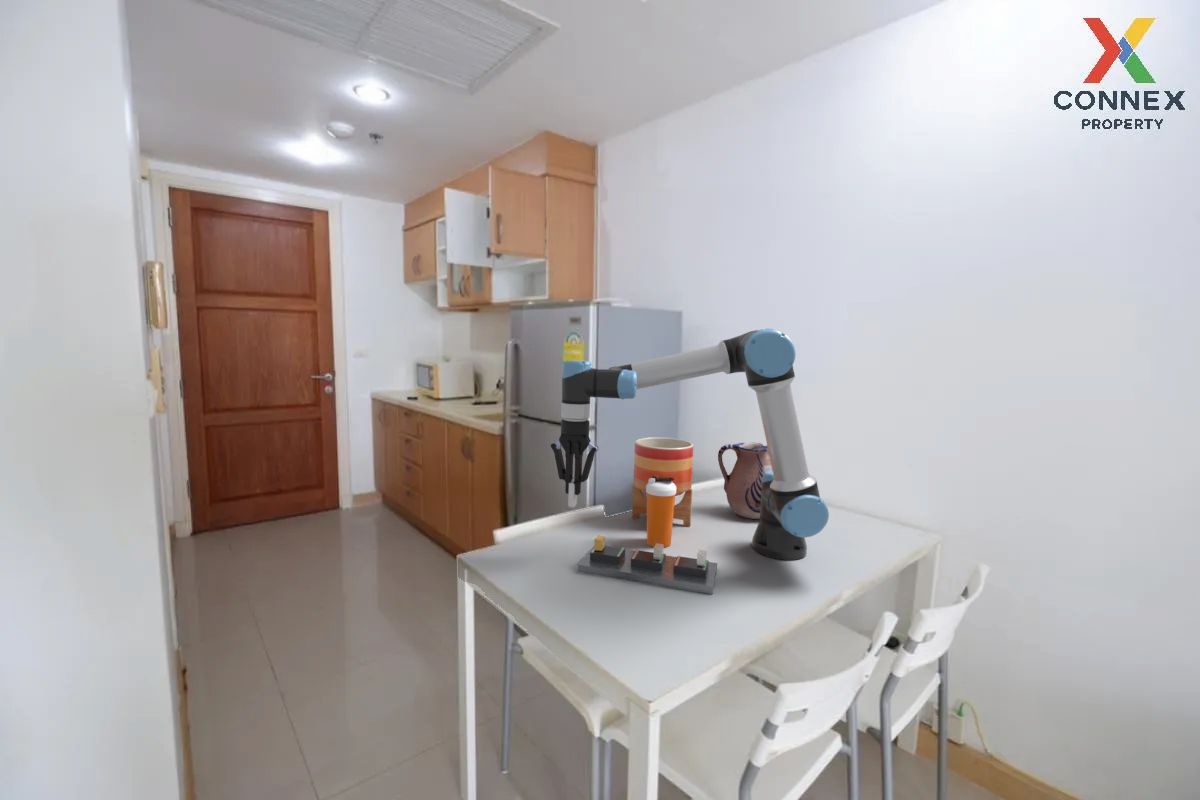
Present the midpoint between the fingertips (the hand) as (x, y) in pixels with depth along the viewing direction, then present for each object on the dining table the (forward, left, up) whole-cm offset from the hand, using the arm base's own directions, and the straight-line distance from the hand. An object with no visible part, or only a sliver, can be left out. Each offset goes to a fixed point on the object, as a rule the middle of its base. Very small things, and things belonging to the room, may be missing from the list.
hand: (572, 505), depth 139 cm
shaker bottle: (-20, -20, -15) cm, 32 cm away
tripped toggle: (-8, 0, -11) cm, 13 cm away
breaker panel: (-21, 0, -15) cm, 26 cm away
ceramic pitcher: (-44, -57, -15) cm, 74 cm away
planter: (-17, -39, -15) cm, 45 cm away
